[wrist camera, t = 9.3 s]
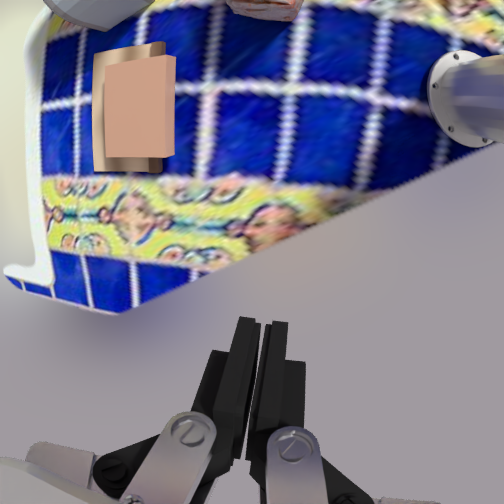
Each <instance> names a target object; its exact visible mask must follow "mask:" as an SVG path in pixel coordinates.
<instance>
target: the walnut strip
mask: <svg viewBox="0 0 504 504" xmlns="http://www.w3.org/2000/svg"><path fill="white" fill-rule="evenodd" d="M165 47H166V43H165V42H162V41H160V42H152V43H151V57H155V56H162V55H165ZM148 160H149V173H160V172H162V158H158V157H148Z"/></svg>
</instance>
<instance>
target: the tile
mask: <svg viewBox="0 0 504 504" xmlns="http://www.w3.org/2000/svg"><path fill="white" fill-rule="evenodd" d="M175 68H176V57H173V56H169V55H162V56H155V57H149V58H143V59H137V60H132V61H127V62H122V63H117V64H112V65H108V66H105V83H104V121H105V149H106V157H158V158H166V157H169V156H172V155H174V103H175Z"/></svg>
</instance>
